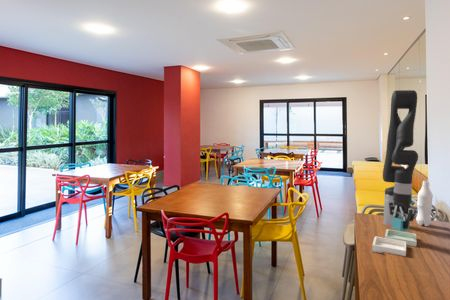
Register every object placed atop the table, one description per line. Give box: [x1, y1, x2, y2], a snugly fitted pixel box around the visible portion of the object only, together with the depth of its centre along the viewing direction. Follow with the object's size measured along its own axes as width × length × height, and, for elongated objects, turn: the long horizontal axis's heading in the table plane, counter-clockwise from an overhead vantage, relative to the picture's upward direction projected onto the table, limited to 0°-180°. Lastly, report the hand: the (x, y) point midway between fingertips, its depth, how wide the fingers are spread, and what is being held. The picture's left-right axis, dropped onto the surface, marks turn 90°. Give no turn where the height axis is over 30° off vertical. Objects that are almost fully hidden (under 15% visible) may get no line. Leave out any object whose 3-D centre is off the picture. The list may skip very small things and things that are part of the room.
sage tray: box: [384, 228, 417, 247], centre depth 144 cm, size 13×13×3 cm
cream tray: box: [371, 236, 407, 257], centre depth 134 cm, size 13×13×3 cm
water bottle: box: [415, 180, 434, 227], centre depth 169 cm, size 7×7×25 cm
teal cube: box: [391, 217, 411, 232], centre depth 144 cm, size 5×5×5 cm
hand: (400, 226), depth 145 cm, fingers closed on teal cube, 5 cm apart
